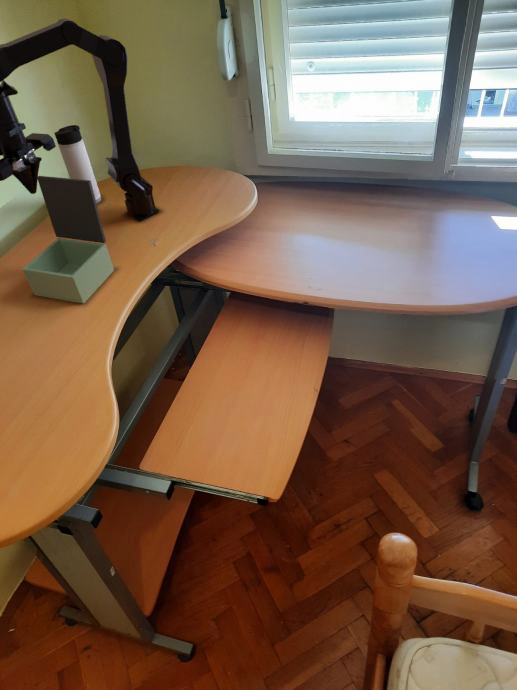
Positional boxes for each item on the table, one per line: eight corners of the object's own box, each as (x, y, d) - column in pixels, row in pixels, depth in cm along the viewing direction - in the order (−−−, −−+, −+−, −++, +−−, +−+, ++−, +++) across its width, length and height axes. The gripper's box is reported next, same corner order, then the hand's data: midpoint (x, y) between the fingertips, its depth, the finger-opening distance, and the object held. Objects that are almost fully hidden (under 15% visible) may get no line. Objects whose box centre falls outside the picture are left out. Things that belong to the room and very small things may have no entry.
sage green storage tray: (83, 303, 96) (72, 277, 91) (34, 295, 99) (21, 269, 95) (114, 270, 104) (105, 244, 100) (68, 263, 108) (57, 237, 103)
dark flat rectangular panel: (88, 181, 91) (90, 180, 92) (36, 176, 94) (39, 175, 95) (104, 243, 99) (106, 241, 100) (56, 236, 102) (58, 235, 103)
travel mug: (96, 207, 127) (71, 131, 113) (75, 206, 128) (47, 131, 114) (106, 196, 132) (83, 122, 118) (85, 195, 133) (60, 122, 119)
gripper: (2, 105, 103) (30, 173, 114) (-62, 136, 91) (-24, 209, 102) (43, 107, 100) (68, 176, 111) (-17, 139, 88) (17, 214, 99)
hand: (33, 193), depth 106 cm, fingers closed
